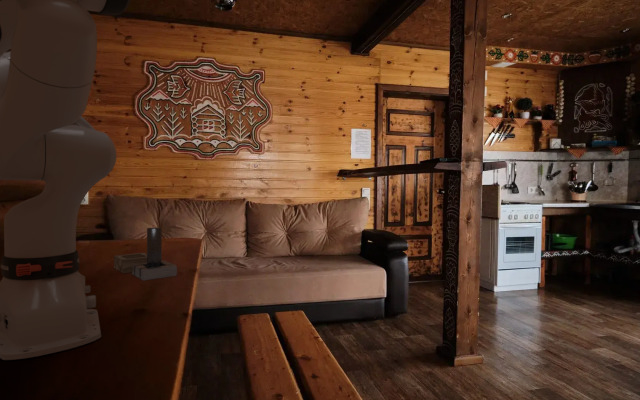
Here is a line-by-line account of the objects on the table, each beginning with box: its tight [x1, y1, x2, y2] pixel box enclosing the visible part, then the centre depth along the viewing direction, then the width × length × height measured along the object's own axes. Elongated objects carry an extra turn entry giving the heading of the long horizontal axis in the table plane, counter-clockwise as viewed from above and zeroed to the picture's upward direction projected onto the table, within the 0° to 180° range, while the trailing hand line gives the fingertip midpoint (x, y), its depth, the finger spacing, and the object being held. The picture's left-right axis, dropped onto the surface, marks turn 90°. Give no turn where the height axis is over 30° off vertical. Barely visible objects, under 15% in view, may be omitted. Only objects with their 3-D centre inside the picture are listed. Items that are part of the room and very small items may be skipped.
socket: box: [131, 259, 178, 282], centre depth 115 cm, size 10×10×3 cm
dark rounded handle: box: [146, 227, 163, 268], centre depth 115 cm, size 4×4×14 cm
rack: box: [113, 252, 147, 274], centre depth 122 cm, size 9×9×4 cm
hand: (79, 168), depth 96 cm, fingers open, 8 cm apart
